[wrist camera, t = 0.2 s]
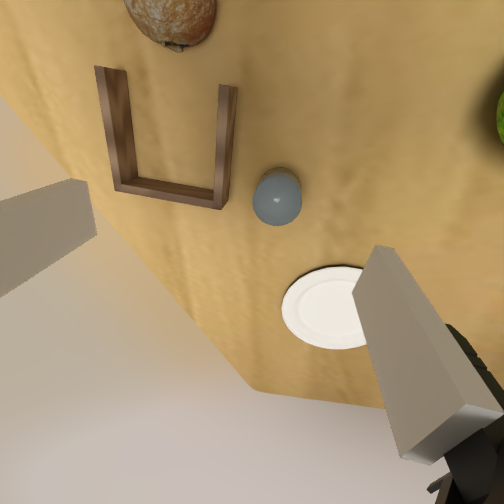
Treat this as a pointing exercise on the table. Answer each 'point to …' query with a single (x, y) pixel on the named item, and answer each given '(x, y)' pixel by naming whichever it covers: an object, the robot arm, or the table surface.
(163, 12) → the bread roll
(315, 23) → the table surface
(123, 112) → the corral
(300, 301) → the plate
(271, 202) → the grey-blue cylinder
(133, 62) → the table surface
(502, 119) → the lettuce
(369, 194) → the table surface
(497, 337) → the table surface
